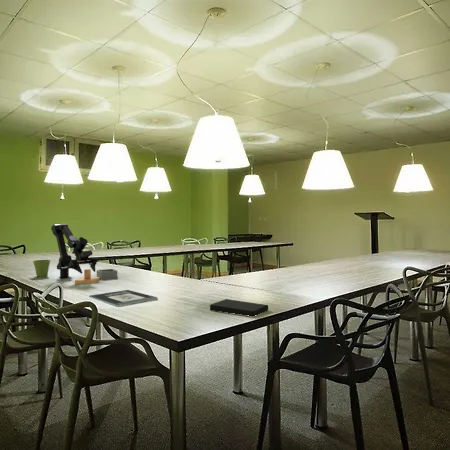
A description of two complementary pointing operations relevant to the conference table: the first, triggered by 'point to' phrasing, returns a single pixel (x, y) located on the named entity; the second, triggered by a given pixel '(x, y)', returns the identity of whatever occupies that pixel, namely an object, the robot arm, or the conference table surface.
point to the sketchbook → (123, 297)
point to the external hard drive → (239, 307)
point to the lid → (87, 278)
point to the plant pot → (41, 267)
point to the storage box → (107, 274)
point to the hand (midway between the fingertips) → (88, 272)
